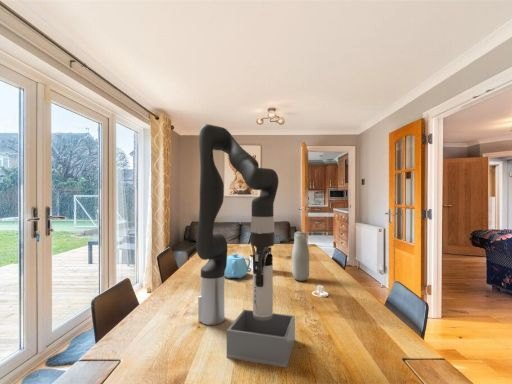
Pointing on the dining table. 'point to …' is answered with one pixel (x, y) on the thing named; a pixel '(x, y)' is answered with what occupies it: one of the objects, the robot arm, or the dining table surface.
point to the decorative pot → (236, 266)
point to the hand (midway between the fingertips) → (262, 283)
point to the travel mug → (264, 293)
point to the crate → (261, 339)
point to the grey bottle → (300, 257)
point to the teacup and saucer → (320, 291)
